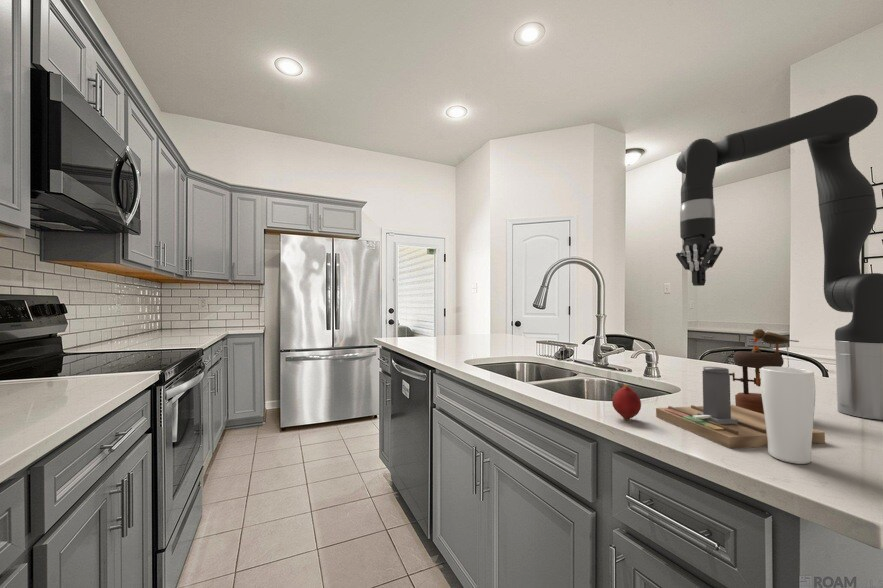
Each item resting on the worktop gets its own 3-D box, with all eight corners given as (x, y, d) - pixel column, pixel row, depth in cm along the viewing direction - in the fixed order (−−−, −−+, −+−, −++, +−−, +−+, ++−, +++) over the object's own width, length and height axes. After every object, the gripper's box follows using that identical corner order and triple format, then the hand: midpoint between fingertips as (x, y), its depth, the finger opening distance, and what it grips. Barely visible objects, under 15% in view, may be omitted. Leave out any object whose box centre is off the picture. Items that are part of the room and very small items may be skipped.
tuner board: (733, 413, 88) (732, 402, 88) (825, 443, 69) (824, 429, 69) (656, 416, 85) (655, 405, 86) (729, 448, 67) (729, 433, 67)
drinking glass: (760, 458, 62) (758, 369, 63) (764, 447, 67) (762, 364, 67) (817, 471, 57) (814, 374, 58) (817, 458, 62) (814, 369, 63)
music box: (794, 411, 90) (791, 329, 90) (810, 423, 80) (807, 332, 81) (716, 403, 97) (714, 327, 98) (723, 413, 88) (720, 329, 89)
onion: (628, 414, 87) (627, 380, 87) (647, 422, 81) (646, 386, 82) (607, 416, 86) (606, 382, 86) (625, 424, 80) (625, 387, 80)
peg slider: (716, 416, 78) (714, 366, 79) (737, 423, 73) (736, 370, 74) (684, 417, 77) (683, 366, 78) (704, 425, 73) (703, 371, 73)
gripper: (733, 213, 90) (734, 284, 89) (690, 225, 103) (691, 287, 103) (705, 212, 89) (707, 284, 89) (665, 224, 102) (666, 286, 102)
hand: (698, 285), depth 96 cm, fingers closed
